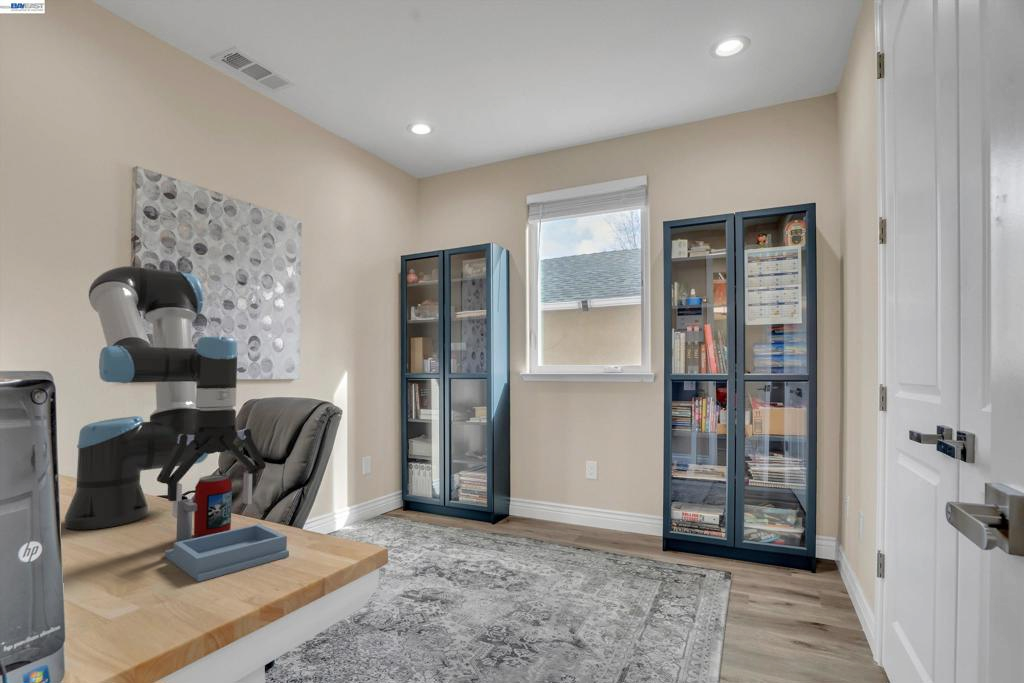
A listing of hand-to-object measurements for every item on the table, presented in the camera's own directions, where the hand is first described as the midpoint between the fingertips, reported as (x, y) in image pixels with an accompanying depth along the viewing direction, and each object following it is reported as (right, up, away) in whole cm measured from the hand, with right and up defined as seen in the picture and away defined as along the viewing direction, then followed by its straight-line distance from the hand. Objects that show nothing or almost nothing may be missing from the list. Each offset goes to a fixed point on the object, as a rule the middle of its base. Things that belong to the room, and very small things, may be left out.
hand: (213, 509), depth 107 cm
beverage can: (0, -5, 0) cm, 5 cm away
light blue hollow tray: (+10, -4, -13) cm, 17 cm away
